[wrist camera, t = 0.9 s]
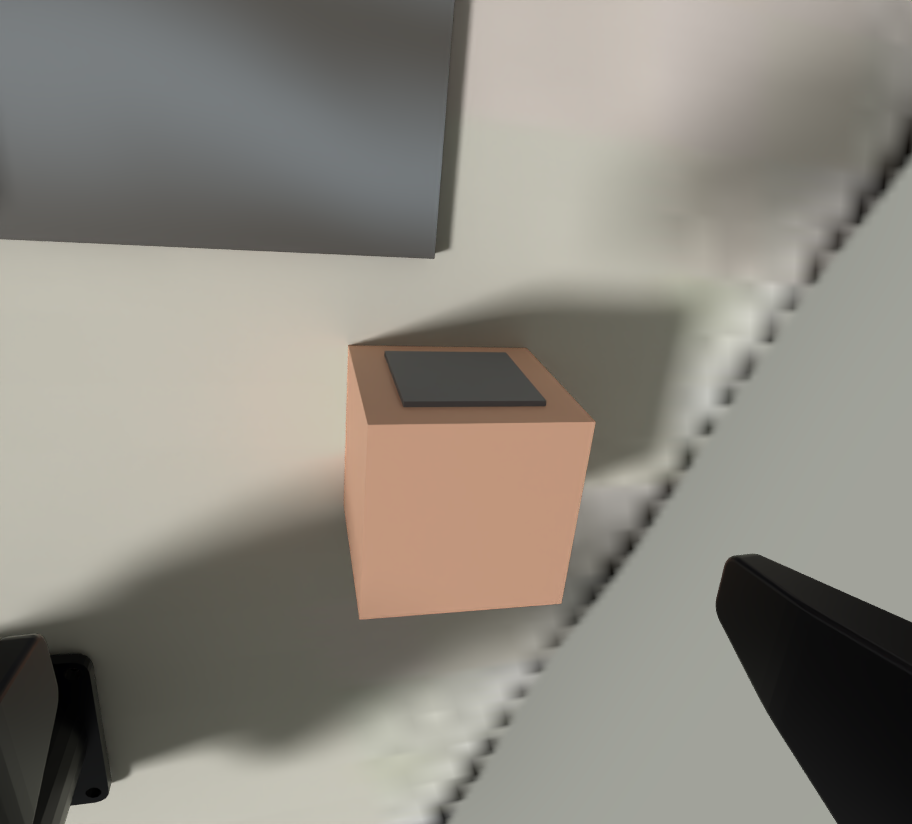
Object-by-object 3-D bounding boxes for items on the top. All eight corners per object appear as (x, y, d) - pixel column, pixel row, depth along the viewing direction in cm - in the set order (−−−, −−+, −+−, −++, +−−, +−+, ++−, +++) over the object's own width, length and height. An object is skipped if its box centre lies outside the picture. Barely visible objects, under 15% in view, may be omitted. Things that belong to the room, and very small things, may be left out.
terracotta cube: (504, 498, 24) (561, 603, 19) (343, 504, 22) (359, 619, 18) (526, 342, 21) (596, 416, 17) (348, 339, 20) (368, 418, 15)
